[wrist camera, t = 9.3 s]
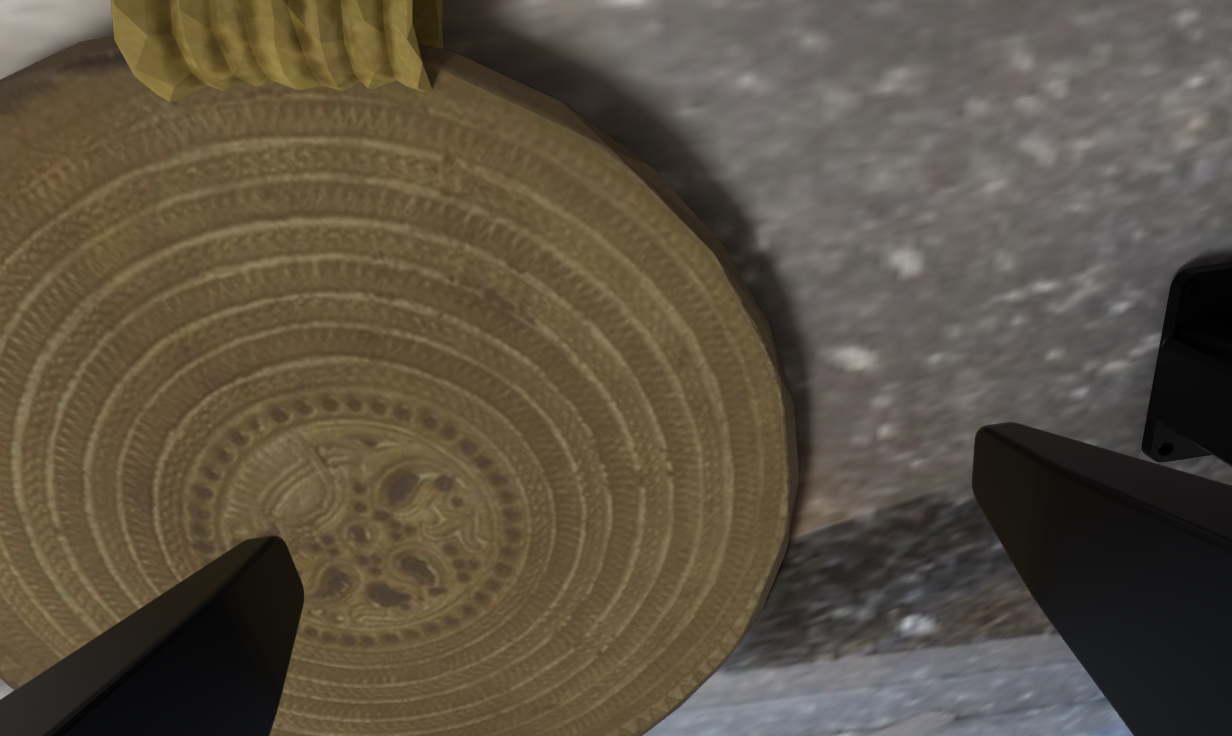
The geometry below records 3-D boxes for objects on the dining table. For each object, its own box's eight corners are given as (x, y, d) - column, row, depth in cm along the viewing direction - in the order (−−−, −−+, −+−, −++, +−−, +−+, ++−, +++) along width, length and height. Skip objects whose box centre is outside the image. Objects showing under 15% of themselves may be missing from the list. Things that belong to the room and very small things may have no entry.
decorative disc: (46, 877, 27) (-604, -17, 14) (99, 791, 30) (-390, -10, 17) (790, 807, 27) (864, -109, 14) (769, 730, 30) (813, -86, 17)
